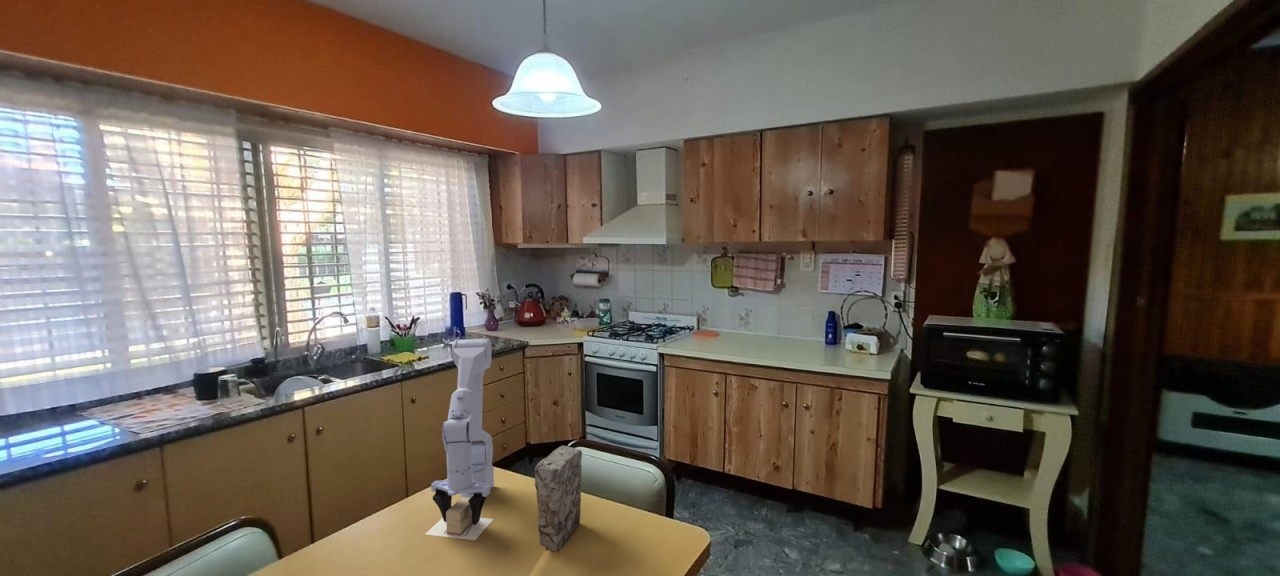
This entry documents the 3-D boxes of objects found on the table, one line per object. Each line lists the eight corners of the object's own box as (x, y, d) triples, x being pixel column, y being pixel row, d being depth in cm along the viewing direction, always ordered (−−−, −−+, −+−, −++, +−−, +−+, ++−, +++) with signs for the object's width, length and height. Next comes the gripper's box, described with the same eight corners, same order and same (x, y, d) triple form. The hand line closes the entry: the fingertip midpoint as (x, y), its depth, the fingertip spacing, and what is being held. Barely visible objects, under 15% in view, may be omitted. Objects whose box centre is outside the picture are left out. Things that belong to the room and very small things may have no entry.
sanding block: (463, 518, 121) (462, 497, 120) (476, 519, 120) (475, 498, 120) (446, 534, 114) (445, 511, 113) (460, 535, 113) (459, 513, 113)
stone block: (564, 554, 108) (562, 468, 106) (535, 550, 109) (533, 465, 108) (584, 522, 120) (582, 445, 119) (558, 519, 122) (556, 442, 121)
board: (446, 518, 123) (446, 514, 123) (493, 523, 120) (493, 518, 120) (424, 539, 114) (424, 534, 114) (475, 545, 111) (474, 540, 111)
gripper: (422, 472, 113) (424, 527, 114) (478, 477, 111) (480, 533, 112) (440, 459, 120) (442, 511, 121) (493, 463, 117) (495, 517, 118)
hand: (461, 521), depth 117 cm, fingers open, 7 cm apart
